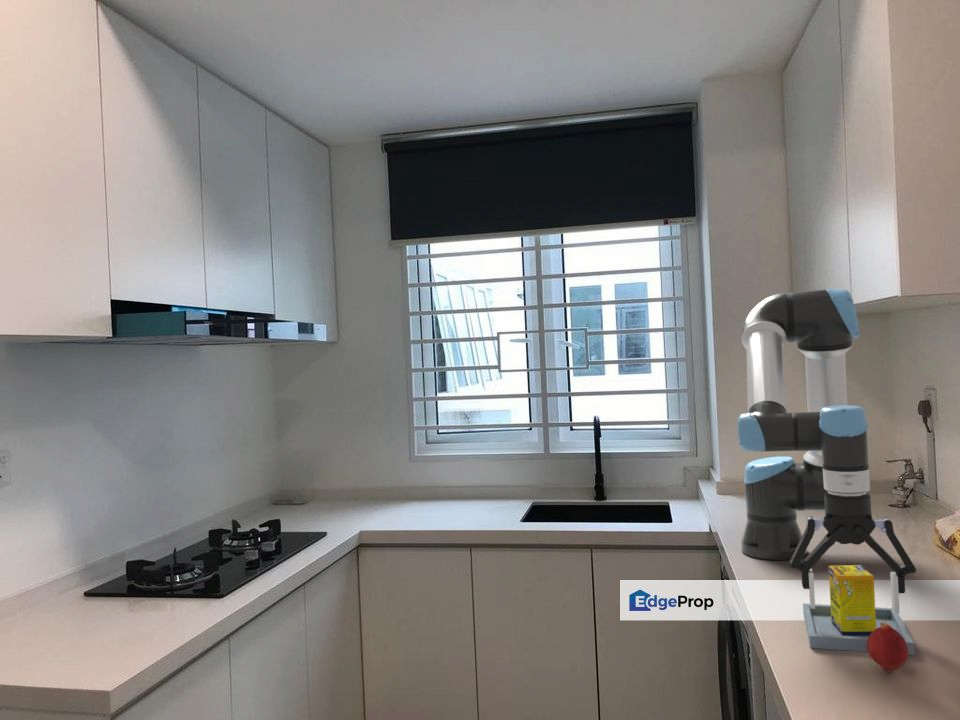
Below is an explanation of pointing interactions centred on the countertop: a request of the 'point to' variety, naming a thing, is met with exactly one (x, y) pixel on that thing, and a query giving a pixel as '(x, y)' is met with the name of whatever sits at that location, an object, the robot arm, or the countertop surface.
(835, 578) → the supplement box
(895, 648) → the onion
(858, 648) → the slate tray
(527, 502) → the countertop surface
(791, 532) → the robot arm
